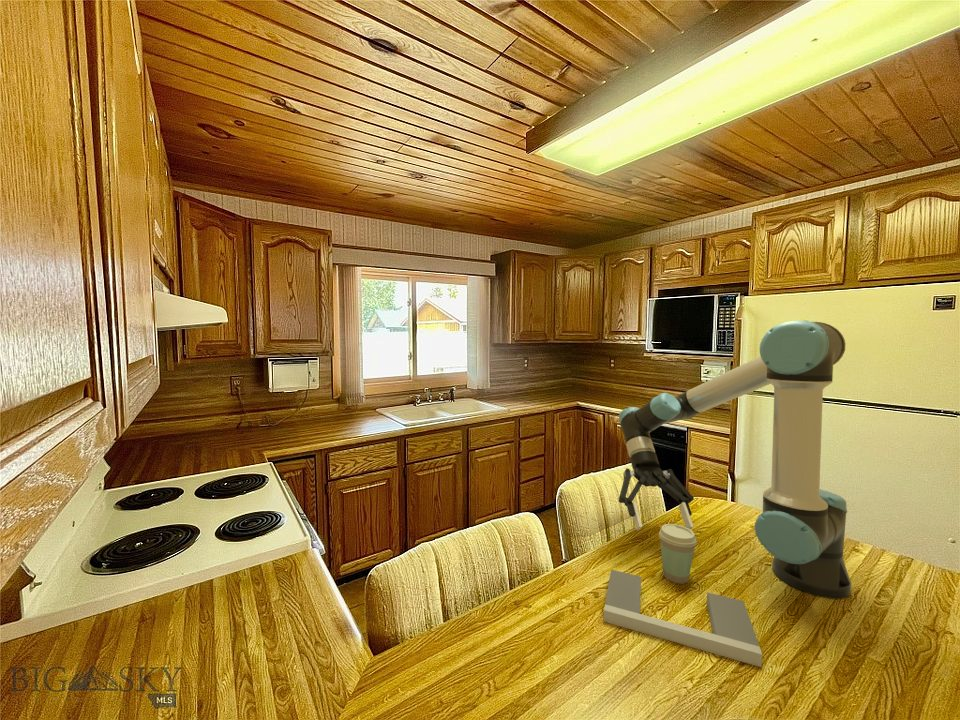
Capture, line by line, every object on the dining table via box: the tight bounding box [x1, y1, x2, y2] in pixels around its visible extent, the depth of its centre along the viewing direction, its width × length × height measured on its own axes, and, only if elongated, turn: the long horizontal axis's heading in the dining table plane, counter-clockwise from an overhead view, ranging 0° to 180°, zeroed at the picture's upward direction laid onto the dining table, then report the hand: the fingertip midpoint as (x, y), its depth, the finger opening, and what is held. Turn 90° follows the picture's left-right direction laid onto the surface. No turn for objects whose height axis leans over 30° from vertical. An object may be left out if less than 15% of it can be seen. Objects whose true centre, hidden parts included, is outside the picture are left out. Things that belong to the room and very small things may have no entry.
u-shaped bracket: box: [603, 569, 763, 668], centre depth 85 cm, size 28×16×2 cm, turn 66°
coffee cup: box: [658, 523, 698, 585], centre depth 99 cm, size 8×8×12 cm
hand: (664, 528), depth 104 cm, fingers open, 13 cm apart
